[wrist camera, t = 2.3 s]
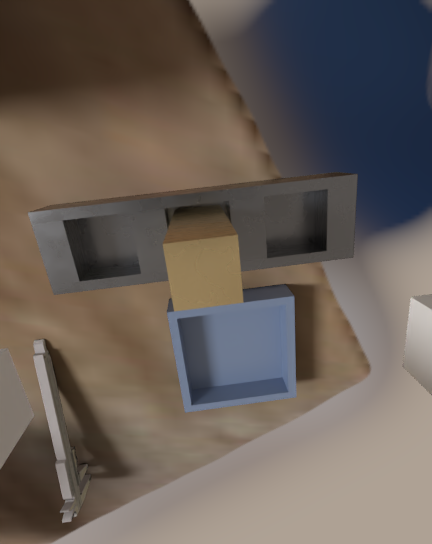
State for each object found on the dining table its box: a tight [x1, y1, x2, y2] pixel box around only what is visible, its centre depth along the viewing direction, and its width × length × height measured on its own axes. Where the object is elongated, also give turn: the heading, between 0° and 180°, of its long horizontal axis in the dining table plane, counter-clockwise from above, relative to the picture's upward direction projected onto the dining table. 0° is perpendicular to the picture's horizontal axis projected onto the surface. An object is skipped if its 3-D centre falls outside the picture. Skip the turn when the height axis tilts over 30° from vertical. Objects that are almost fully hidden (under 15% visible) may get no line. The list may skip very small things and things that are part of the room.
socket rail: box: [28, 172, 358, 295], centre depth 27 cm, size 26×7×4 cm, turn 96°
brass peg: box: [163, 204, 243, 311], centre depth 23 cm, size 4×4×12 cm
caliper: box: [33, 339, 91, 523], centre depth 33 cm, size 20×1×6 cm, turn 6°
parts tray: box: [167, 284, 296, 412], centre depth 32 cm, size 12×12×3 cm
